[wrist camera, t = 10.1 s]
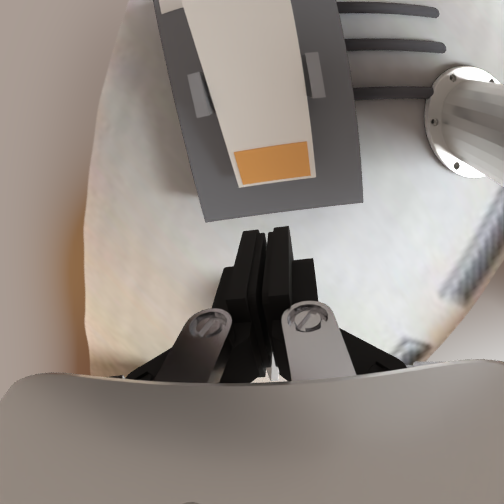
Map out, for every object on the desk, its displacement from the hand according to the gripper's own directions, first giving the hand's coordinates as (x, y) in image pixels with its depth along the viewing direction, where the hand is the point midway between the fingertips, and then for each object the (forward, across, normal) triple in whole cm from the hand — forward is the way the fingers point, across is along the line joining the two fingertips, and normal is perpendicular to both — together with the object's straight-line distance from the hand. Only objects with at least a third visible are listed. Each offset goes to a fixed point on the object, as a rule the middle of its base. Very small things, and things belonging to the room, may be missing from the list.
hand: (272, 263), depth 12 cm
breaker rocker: (+11, 0, -7) cm, 13 cm away
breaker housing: (+21, 0, -7) cm, 22 cm away
